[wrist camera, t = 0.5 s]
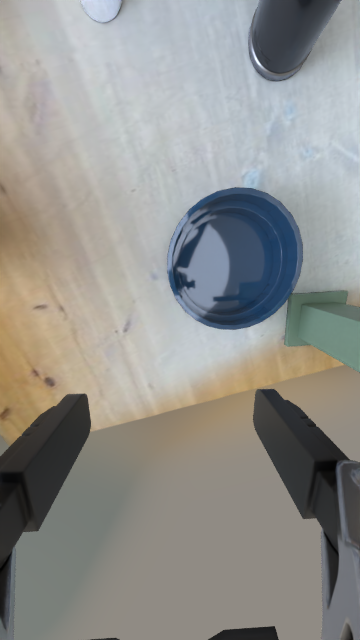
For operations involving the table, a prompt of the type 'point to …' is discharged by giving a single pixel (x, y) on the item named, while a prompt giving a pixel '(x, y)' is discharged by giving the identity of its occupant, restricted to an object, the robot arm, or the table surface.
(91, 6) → the beer glass
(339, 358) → the stand
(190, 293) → the bowl
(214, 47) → the table surface
